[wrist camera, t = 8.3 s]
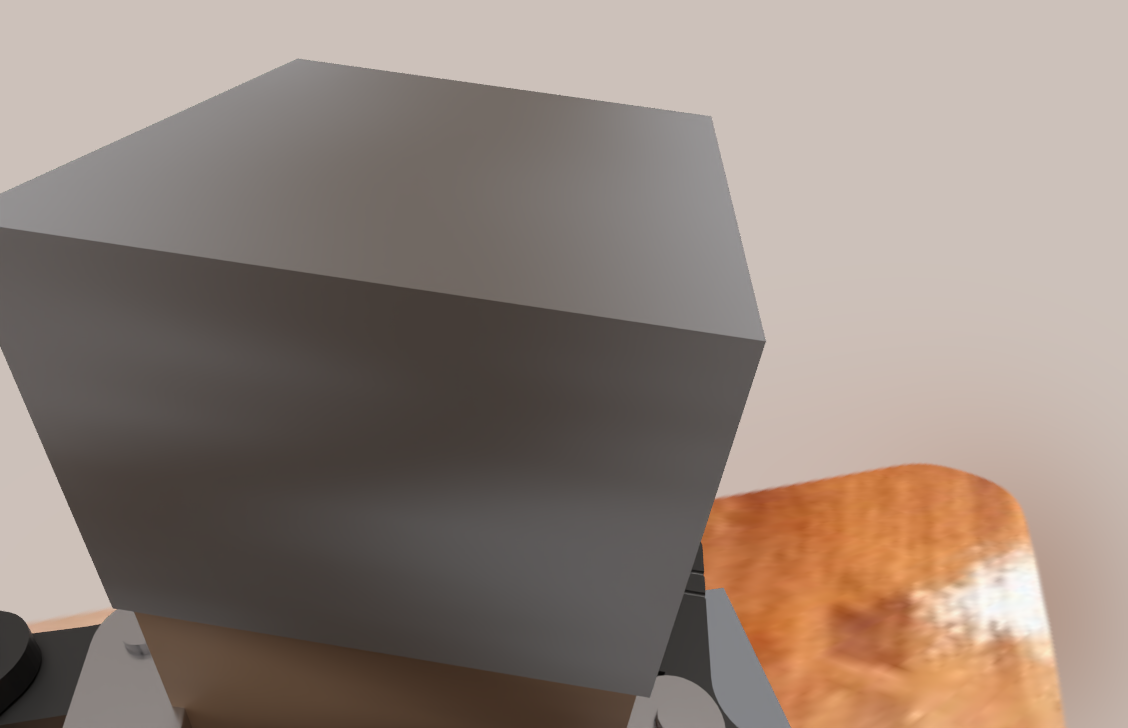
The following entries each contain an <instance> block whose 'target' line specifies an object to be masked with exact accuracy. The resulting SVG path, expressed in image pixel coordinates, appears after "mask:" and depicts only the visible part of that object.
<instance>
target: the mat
mask: <svg viewBox="0 0 1128 728" xmlns="http://www.w3.org/2000/svg"><path fill="white" fill-rule="evenodd" d="M705 598H706V608H707V623H708V638H709V652H710V667H711V680H712V686H713V690H714V693H715V696H716V698H717V700H718V703H719V705H720V706H721V708H722V709H723V711H724V713H725V714H726V715H727V716H728V718H729V719H730V720H731V721H732V722H733V723H734V724H735V725H736V726H737V727H738V728H791V727H790V725H789V723H788V720H787V718H786V716H785V714H784V712H783V710H782V708H781V706H780V704H779V702H778V700H777V698H776V696H775V694H774V691H773V689H772V687H771V685H770V683H769V681H768V679H767V677H766V675H765V673H764V671H763V669H762V667H761V665H760V663H759V660H758V658H757V656H756V654H755V652H754V650H753V648H752V646H751V644H750V642H749V640H748V638H747V636H746V634H745V631H744V629H743V627H742V625H741V623H740V621H739V619H738V617H737V615H736V613H735V611H734V609H733V607H732V605H731V603H730V600H729V598H728V596H727V594H726V592H725V590H724V588H719V589H712V590H705Z"/></svg>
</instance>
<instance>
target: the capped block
mask: <svg viewBox="0 0 1128 728" xmlns="http://www.w3.org/2000/svg"><path fill="white" fill-rule="evenodd" d="M765 342H766V340H765V337H764V332H763V328H762V324H761V320H760V316H759V311H758V308H757V303H756V299H755V295H754V291H753V287H752V283H751V279H750V274H749V270H748V266H747V262H746V258H745V254H744V250H743V245H742V241H741V237H740V233H739V229H738V225H737V221H736V217H735V213H734V208H733V204H732V200H731V196H730V192H729V188H728V184H727V180H726V175H725V172H724V167H723V163H722V159H721V155H720V151H719V147H718V142H717V138H716V134H715V130H714V126H713V122H712V118H711V116H704V115H697V114H691V113H683V112H676V111H669V110H662V109H655V108H648V107H640V106H633V105H626V104H619V103H611V102H604V101H597V100H590V99H583V98H575V97H568V96H561V95H554V94H547V93H540V92H532V91H526V90H518V89H511V88H504V87H496V86H490V85H482V84H475V83H468V82H461V81H454V80H447V79H439V78H432V77H425V76H418V75H411V74H404V73H397V72H389V71H382V70H375V69H367V68H361V67H353V66H346V65H339V64H332V63H325V62H317V61H310V60H303V59H296V60H294V61H292V62H290V63H287V64H285V65H283V66H280V67H278V68H276V69H274V70H272V71H270V72H267V73H265V74H263V75H261V76H258V77H256V78H254V79H252V80H250V81H247V82H245V83H243V84H241V85H239V86H236V87H234V88H232V89H230V90H228V91H226V92H223V93H221V94H219V95H217V96H214V97H212V98H210V99H208V100H206V101H203V102H201V103H199V104H197V105H195V106H193V107H190V108H188V109H186V110H184V111H182V112H179V113H177V114H175V115H173V116H171V117H168V118H166V119H164V120H162V121H159V122H157V123H155V124H153V125H151V126H149V127H146V128H144V129H142V130H140V131H137V132H135V133H133V134H131V135H129V136H126V137H124V138H122V139H120V140H118V141H116V142H113V143H111V144H109V145H107V146H104V147H102V148H100V149H98V150H96V151H94V152H91V153H89V154H87V155H85V156H82V157H80V158H78V159H76V160H74V161H71V162H69V163H67V164H65V165H63V166H60V167H58V168H56V169H54V170H52V171H49V172H47V173H45V174H43V175H41V176H38V177H36V178H34V179H32V180H30V181H27V182H25V183H23V184H21V185H19V186H16V187H14V188H12V189H10V190H8V191H5V192H3V193H1V194H0V347H1V349H2V351H3V354H4V356H5V358H6V361H7V363H8V365H9V368H10V370H11V372H12V374H13V377H14V379H15V382H16V384H17V386H18V388H19V391H20V393H21V396H22V398H23V400H24V403H25V405H26V407H27V410H28V412H29V414H30V417H31V419H32V421H33V423H34V426H35V428H36V430H37V433H38V435H39V437H40V440H41V442H42V444H43V447H44V449H45V451H46V454H47V456H48V458H49V461H50V463H51V465H52V468H53V470H54V472H55V475H56V477H57V479H58V482H59V484H60V486H61V489H62V491H63V493H64V495H65V498H66V500H67V503H68V505H69V507H70V510H71V512H72V514H73V517H74V519H75V521H76V524H77V526H78V528H79V531H80V533H81V535H82V538H83V540H84V542H85V544H86V547H87V549H88V552H89V554H90V556H91V558H92V561H93V563H94V565H95V568H96V570H97V572H98V575H99V577H100V579H101V582H102V584H103V586H104V589H105V591H106V593H107V596H108V598H109V600H110V603H111V605H112V607H113V608H114V609H120V610H126V611H132V612H134V614H135V616H136V619H137V621H138V623H139V626H140V628H141V631H142V633H143V636H144V638H145V641H146V643H147V646H148V648H149V651H150V653H151V656H152V658H153V661H154V663H155V666H156V668H157V671H158V673H159V675H160V678H161V680H162V683H163V685H164V688H165V690H166V693H167V695H168V698H169V700H170V703H171V705H172V706H174V707H180V708H185V710H186V712H187V715H188V718H189V720H190V723H191V725H192V728H627V726H628V722H629V719H630V716H631V712H632V709H633V706H634V703H635V699H636V696H642V697H648V698H650V696H651V693H652V690H653V687H654V684H655V681H656V677H657V674H658V671H659V668H660V665H661V662H662V659H663V656H664V653H665V650H666V647H667V644H668V641H669V638H670V634H671V631H672V628H673V625H674V622H675V619H676V616H677V613H678V610H679V607H680V604H681V601H682V598H683V594H684V591H685V588H686V585H687V582H688V579H689V576H690V573H691V570H692V567H693V564H694V561H695V558H696V554H697V551H698V548H699V545H700V542H701V539H702V536H703V533H704V530H705V527H706V524H707V521H708V518H709V514H710V511H711V508H712V505H713V502H714V499H715V496H716V493H717V490H718V487H719V483H720V481H721V478H722V474H723V471H724V468H725V465H726V462H727V459H728V456H729V452H730V450H731V447H732V444H733V440H734V437H735V434H736V431H737V428H738V425H739V422H740V419H741V416H742V413H743V410H744V407H745V404H746V400H747V397H748V394H749V391H750V388H751V385H752V382H753V379H754V376H755V373H756V370H757V367H758V364H759V361H760V358H761V354H762V351H763V348H764V345H765Z"/></svg>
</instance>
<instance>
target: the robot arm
mask: <svg viewBox="0 0 1128 728" xmlns="http://www.w3.org/2000/svg"><path fill="white" fill-rule="evenodd" d="M703 574H704V564H703V549H702V544H701V542H700V545H699V548H698V551H697V554H696V558H695V561H694V564H693V567H692V570H691V573H690V576H689V579H688V582H687V585H686V588H685V591H684V594H683V598H682V601H681V604H680V607H679V610H678V613H677V616H676V619H675V622H674V625H673V628H672V631H671V634H670V638H669V641H668V644H667V647H666V650H665V653H664V656H663V659H662V662H661V665H660V668H659V671H658V674H657V677H656V681H655V684H654V687H653V690H652V693H651V696H650V698H648V697H642V696H636V699H635V703H634V706H633V709H632V712H631V716H630V719H629V722H628V726H627V728H738V727H737V726H736V725H735V724H734V723H733V722H732V721H731V720H730V719H729V718H728V716H727V715H726V714H725V713H724V711H723V709H722V708H721V706H720V705H719V703H718V700H717V698H716V696H715V693H714V690H713V686H712V680H711V667H710V652H709V638H708V623H707V608H706V598H705V579H704V576H703ZM0 728H192V725H191V723H190V720H189V718H188V715H187V712H186V710H185V708H180V707H174V706H172V705H171V703H170V700H169V698H168V695H167V693H166V690H165V688H164V685H163V683H162V680H161V678H160V675H159V673H158V671H157V668H156V666H155V663H154V661H153V658H152V656H151V653H150V651H149V648H148V646H147V643H146V641H145V638H144V636H143V633H142V631H141V628H140V626H139V623H138V621H137V619H136V616H135V614H134V612H132V611H126V610H120V609H117V610H116V611H114V612H113V613H112V614H111V615H110V616H108V617H107V618H106V619H105V620H104V622H103V623H102V624H99V625H93V626H88V627H80V628H72V629H64V630H57V631H49V632H41V633H33V634H32V633H31V631H30V629H29V628H28V626H27V624H26V622H25V621H24V620H23V619H22V618H21V617H19V616H18V615H16V614H13V613H10V612H4V611H0Z"/></svg>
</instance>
